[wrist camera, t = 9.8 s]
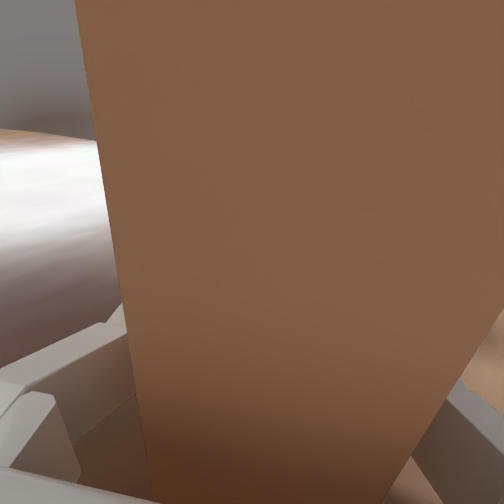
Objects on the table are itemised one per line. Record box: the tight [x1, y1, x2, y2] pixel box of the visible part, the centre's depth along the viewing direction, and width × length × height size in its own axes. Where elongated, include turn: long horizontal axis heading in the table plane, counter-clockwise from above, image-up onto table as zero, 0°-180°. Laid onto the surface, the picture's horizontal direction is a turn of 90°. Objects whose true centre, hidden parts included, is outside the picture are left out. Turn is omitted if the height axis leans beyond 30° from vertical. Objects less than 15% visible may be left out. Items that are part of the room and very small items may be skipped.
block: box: [74, 0, 504, 504], centre depth 8 cm, size 5×4×14 cm
